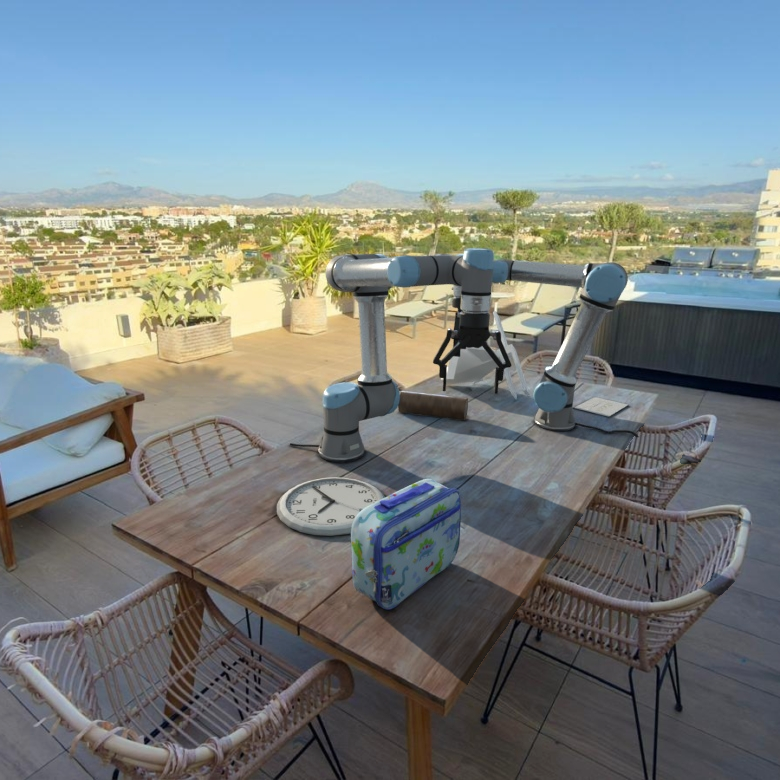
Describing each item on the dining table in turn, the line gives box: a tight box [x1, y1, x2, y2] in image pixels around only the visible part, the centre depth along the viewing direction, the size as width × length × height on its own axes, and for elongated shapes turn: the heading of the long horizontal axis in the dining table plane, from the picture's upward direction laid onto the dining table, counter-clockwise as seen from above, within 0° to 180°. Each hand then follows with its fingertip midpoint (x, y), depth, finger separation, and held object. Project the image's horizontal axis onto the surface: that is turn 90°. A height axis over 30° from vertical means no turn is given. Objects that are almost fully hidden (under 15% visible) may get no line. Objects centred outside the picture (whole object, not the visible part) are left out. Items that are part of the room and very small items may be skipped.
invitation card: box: [573, 396, 629, 418], centre depth 226 cm, size 21×1×15 cm
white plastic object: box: [440, 310, 531, 400], centre depth 245 cm, size 37×45×31 cm
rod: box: [397, 390, 469, 421], centre depth 211 cm, size 27×9×9 cm, turn 73°
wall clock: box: [276, 476, 386, 537], centre depth 142 cm, size 30×2×30 cm
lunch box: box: [350, 478, 462, 611], centre depth 110 cm, size 26×11×21 cm, turn 135°
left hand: (469, 391), depth 139 cm, fingers open, 13 cm apart
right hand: (459, 352), depth 201 cm, fingers open, 13 cm apart
